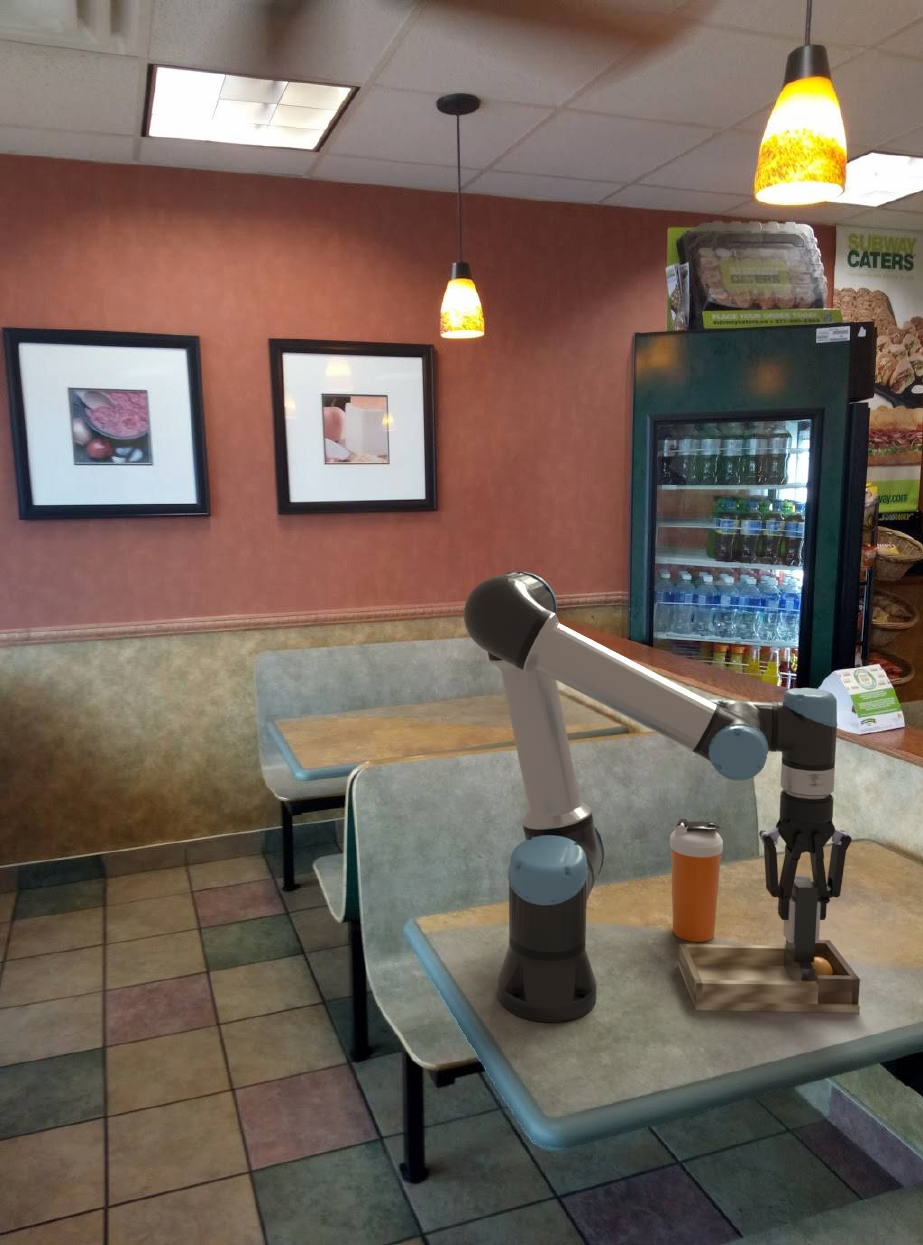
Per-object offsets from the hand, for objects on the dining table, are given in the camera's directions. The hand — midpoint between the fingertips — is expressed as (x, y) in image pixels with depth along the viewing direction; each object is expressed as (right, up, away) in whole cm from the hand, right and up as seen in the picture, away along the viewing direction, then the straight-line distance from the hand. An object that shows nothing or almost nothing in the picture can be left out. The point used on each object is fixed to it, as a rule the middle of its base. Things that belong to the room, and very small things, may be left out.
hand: (800, 938), depth 138 cm
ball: (+3, -5, +1) cm, 6 cm away
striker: (0, -7, +1) cm, 7 cm away
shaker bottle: (-12, -6, +19) cm, 23 cm away
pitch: (-5, -8, +1) cm, 10 cm away
